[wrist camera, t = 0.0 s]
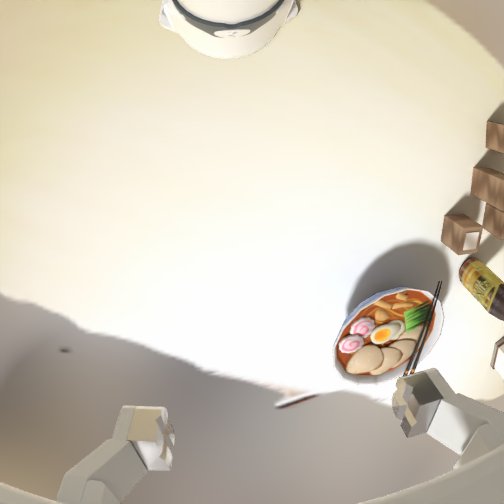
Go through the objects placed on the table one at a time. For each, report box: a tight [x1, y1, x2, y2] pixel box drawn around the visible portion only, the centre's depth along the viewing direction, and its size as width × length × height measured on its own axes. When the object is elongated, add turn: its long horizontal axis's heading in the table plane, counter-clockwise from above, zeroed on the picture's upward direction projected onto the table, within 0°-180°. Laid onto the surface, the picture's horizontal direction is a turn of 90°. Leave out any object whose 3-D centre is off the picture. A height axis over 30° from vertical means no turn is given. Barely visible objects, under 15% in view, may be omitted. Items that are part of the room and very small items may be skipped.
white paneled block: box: [441, 214, 483, 255], centre depth 49 cm, size 5×5×6 cm
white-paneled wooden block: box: [482, 204, 504, 240], centre depth 48 cm, size 5×5×6 cm
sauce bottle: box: [459, 258, 504, 321], centre depth 47 cm, size 7×6×20 cm
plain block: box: [471, 168, 504, 211], centre depth 43 cm, size 5×5×9 cm
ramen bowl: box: [333, 281, 444, 385], centre depth 55 cm, size 25×23×8 cm
